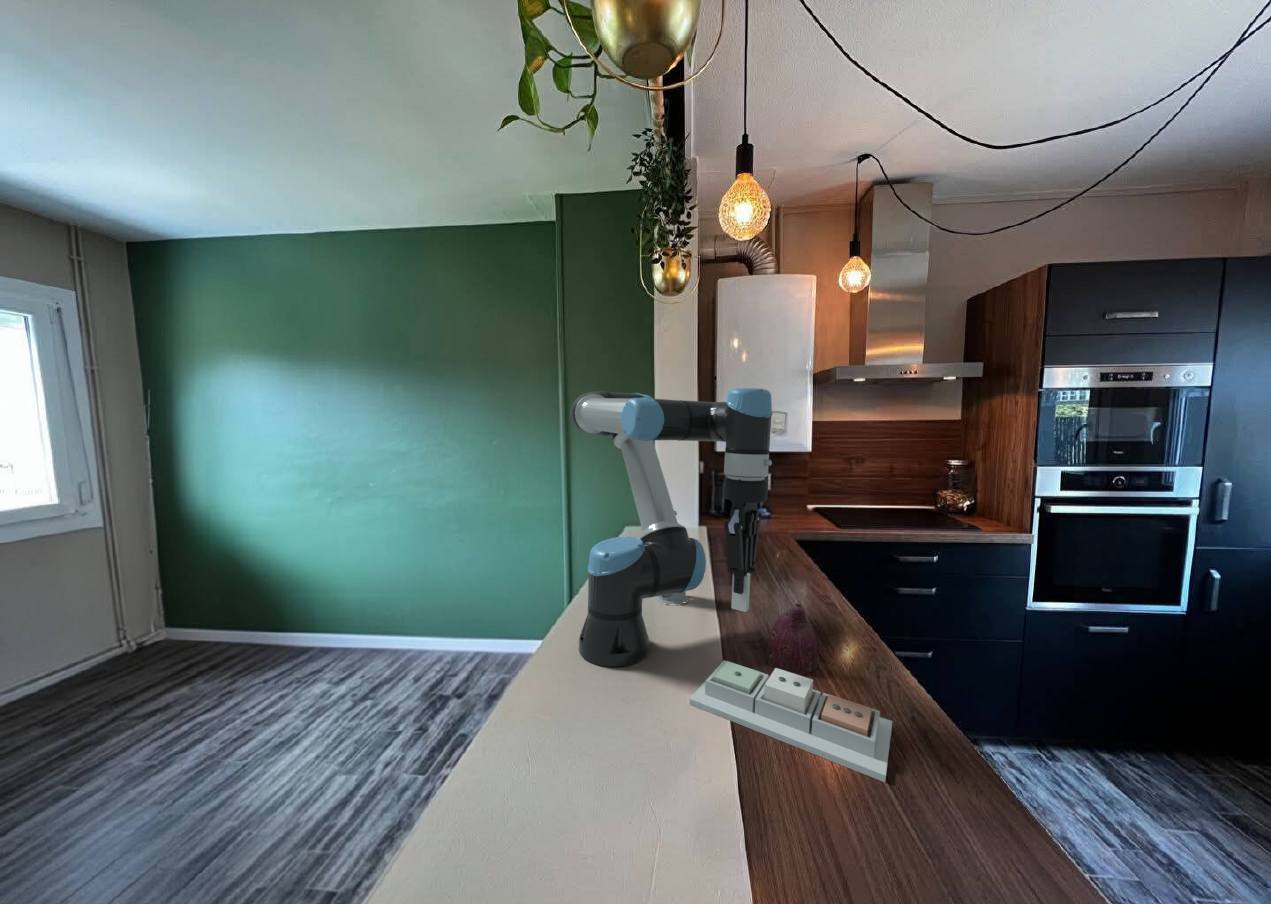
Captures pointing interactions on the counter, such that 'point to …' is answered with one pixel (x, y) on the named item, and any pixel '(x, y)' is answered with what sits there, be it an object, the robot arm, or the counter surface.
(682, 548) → the robot arm
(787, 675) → the key two
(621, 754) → the counter surface
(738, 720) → the console
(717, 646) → the counter surface
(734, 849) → the counter surface
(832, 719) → the key three
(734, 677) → the key one
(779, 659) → the vegetable
